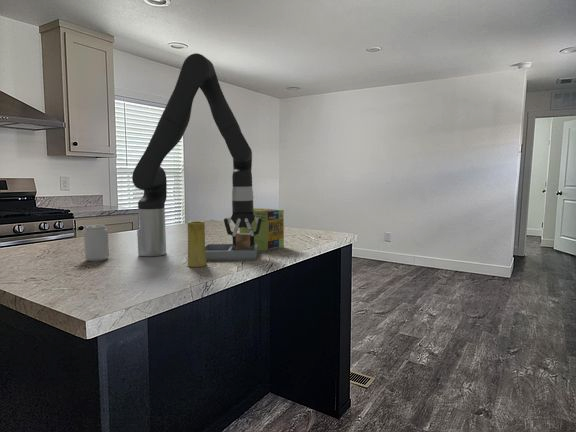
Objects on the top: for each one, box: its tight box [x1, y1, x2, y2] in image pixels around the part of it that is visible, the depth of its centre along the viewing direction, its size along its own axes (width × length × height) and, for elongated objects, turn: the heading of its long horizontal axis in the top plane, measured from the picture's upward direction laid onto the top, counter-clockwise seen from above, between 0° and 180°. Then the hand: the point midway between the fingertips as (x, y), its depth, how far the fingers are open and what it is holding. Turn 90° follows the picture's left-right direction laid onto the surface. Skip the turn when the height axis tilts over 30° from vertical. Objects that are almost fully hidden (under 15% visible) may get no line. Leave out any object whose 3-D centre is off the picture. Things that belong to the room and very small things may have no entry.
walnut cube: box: [236, 232, 251, 249], centre depth 141 cm, size 5×5×5 cm
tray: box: [205, 243, 259, 262], centre depth 141 cm, size 20×15×3 cm
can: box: [83, 224, 110, 262], centre depth 136 cm, size 8×8×12 cm
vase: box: [187, 220, 208, 268], centre depth 126 cm, size 6×6×14 cm
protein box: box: [239, 207, 285, 252], centre depth 158 cm, size 10×15×16 cm
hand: (243, 245), depth 141 cm, fingers closed on walnut cube, 5 cm apart
